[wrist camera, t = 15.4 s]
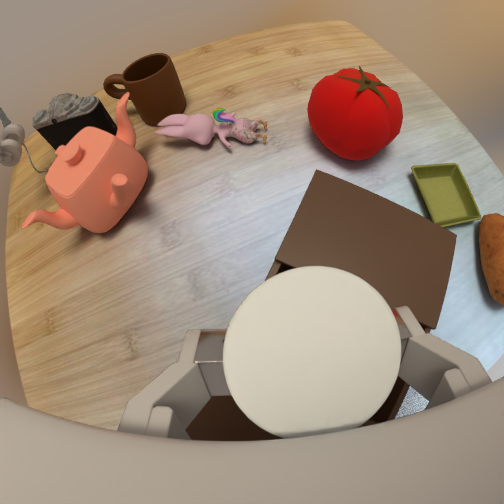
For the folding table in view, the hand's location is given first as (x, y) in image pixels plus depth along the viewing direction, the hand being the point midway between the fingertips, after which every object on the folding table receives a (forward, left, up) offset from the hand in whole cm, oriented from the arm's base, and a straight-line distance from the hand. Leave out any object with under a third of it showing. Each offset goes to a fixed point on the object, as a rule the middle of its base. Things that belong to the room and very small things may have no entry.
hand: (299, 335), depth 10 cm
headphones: (-9, +42, -20) cm, 48 cm away
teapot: (-2, +27, -20) cm, 34 cm away
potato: (+25, -16, -20) cm, 35 cm away
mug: (+11, +37, -20) cm, 44 cm away
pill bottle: (0, 0, -5) cm, 5 cm away
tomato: (+25, +10, -20) cm, 33 cm away
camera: (+1, +45, -20) cm, 49 cm away
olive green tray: (+27, -4, -20) cm, 33 cm away
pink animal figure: (+13, +24, -20) cm, 34 cm away
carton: (+5, -2, -19) cm, 20 cm away
